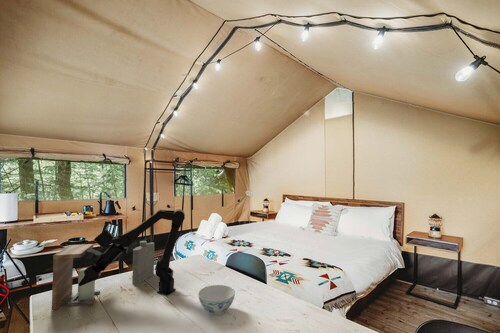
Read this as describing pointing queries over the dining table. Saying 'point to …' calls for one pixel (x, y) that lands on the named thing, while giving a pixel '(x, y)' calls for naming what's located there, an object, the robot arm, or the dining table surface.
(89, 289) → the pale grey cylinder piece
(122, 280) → the dining table surface
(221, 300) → the chinaware
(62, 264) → the walnut overhang
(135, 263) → the hip flask
